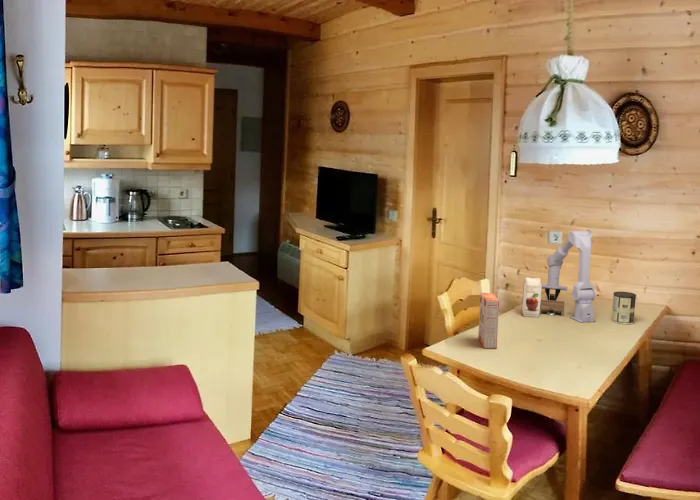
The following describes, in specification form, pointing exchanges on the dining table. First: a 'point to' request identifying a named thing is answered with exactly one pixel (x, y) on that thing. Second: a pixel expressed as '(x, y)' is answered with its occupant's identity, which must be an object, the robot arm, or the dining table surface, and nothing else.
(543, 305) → the walnut u-shaped block
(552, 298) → the brown-topped white block
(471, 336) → the dining table surface
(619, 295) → the coffee can
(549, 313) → the steel token
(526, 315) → the juice carton
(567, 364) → the dining table surface
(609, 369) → the dining table surface
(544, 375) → the dining table surface
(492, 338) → the cracker box
